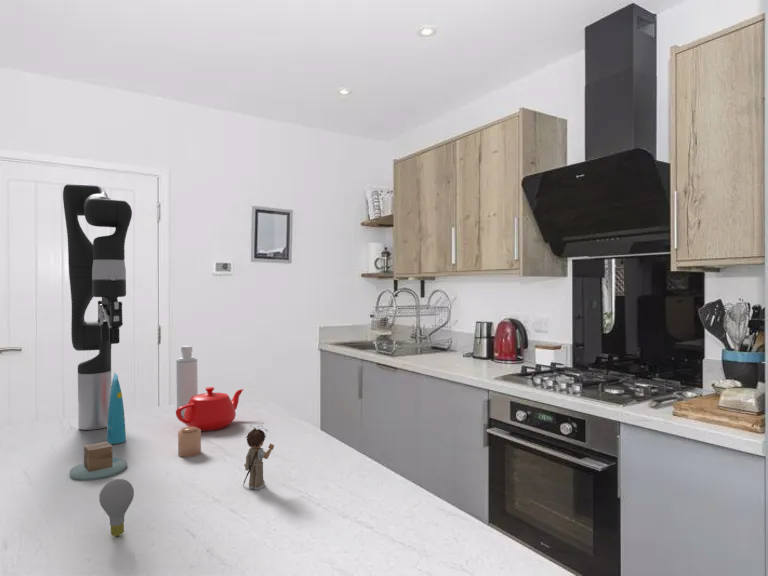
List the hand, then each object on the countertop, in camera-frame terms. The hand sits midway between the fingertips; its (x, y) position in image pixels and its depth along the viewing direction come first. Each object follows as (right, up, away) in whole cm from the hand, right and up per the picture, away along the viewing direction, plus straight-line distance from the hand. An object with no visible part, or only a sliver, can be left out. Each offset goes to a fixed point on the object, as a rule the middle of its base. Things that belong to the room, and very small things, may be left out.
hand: (110, 342), depth 130 cm
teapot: (+15, -30, +32) cm, 46 cm away
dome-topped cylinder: (+18, -30, +5) cm, 35 cm away
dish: (+1, -30, -7) cm, 31 cm away
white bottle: (+2, -30, +46) cm, 54 cm away
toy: (+41, -30, -17) cm, 54 cm away
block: (+1, -29, -7) cm, 30 cm away
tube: (-7, -30, +16) cm, 35 cm away
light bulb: (+22, -31, -39) cm, 54 cm away
